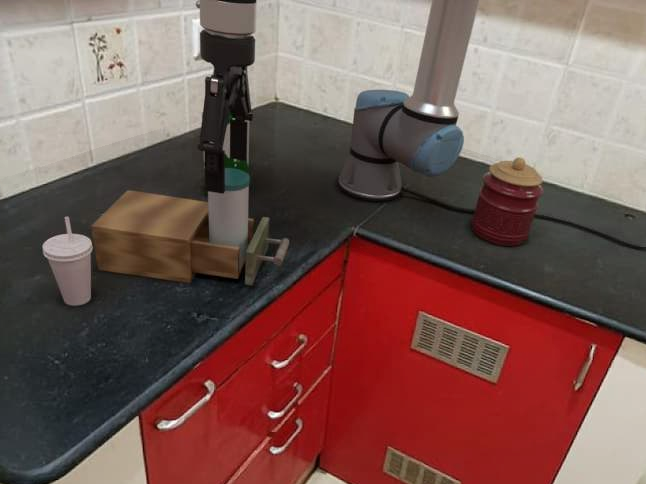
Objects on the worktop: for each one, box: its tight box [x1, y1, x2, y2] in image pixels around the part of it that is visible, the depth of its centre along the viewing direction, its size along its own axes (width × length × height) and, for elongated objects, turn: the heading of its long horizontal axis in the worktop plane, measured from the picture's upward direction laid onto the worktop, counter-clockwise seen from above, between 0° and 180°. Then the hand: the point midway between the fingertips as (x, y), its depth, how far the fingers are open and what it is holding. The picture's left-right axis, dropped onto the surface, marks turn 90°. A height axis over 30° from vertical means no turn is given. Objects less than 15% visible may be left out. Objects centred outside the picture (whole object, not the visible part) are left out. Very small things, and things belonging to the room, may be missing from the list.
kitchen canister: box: [470, 157, 544, 247], centre depth 120 cm, size 13×13×18 cm
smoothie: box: [42, 216, 94, 307], centre depth 81 cm, size 6×6×14 cm
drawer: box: [190, 215, 291, 286], centre depth 96 cm, size 18×13×6 cm
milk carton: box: [201, 111, 251, 196], centre depth 117 cm, size 9×9×20 cm
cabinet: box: [90, 189, 209, 284], centre depth 96 cm, size 15×14×8 cm
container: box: [207, 168, 251, 264], centre depth 93 cm, size 7×7×15 cm
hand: (227, 174), depth 89 cm, fingers open, 13 cm apart
